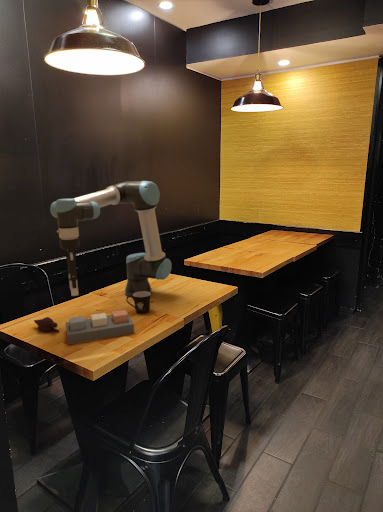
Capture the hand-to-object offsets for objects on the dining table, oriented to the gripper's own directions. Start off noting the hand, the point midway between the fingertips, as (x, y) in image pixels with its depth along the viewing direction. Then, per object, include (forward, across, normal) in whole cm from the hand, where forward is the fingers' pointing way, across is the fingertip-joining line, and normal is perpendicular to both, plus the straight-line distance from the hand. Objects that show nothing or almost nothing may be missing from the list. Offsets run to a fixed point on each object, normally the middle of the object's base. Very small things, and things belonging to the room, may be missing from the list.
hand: (74, 291), depth 152 cm
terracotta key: (+16, 0, +18) cm, 24 cm away
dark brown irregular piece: (+21, -12, -13) cm, 27 cm away
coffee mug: (+21, -17, +31) cm, 41 cm away
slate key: (+16, 0, 0) cm, 16 cm away
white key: (+16, 0, +9) cm, 19 cm away
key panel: (+20, 0, +9) cm, 22 cm away
